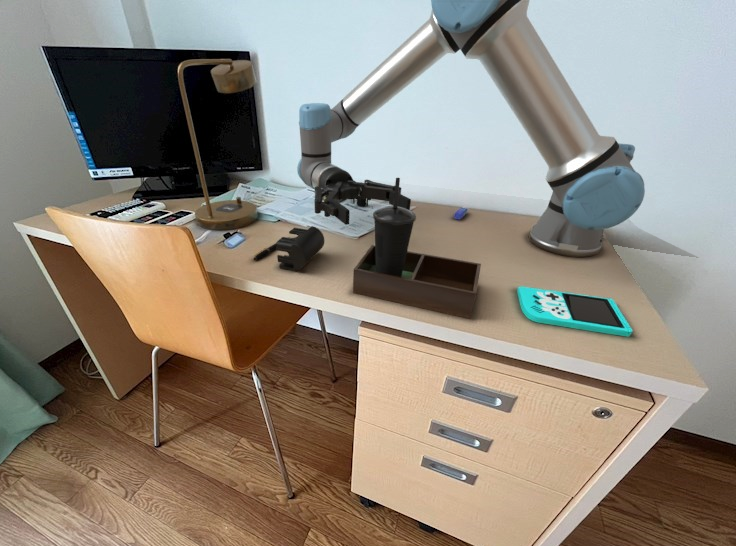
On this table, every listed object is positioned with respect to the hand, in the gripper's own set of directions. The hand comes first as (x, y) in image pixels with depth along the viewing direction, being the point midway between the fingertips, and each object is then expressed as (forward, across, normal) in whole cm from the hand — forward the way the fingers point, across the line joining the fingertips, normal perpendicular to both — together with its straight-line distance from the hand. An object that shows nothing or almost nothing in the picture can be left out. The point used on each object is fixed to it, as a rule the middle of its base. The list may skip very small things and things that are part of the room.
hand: (379, 211), depth 66 cm
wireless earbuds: (-38, -18, -14) cm, 44 cm away
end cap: (-12, +12, -14) cm, 22 cm away
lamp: (-49, +19, -14) cm, 54 cm away
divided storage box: (+9, -4, -13) cm, 17 cm away
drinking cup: (+5, 0, -13) cm, 14 cm away
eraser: (-17, -39, -14) cm, 45 cm away
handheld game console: (+27, -24, -14) cm, 39 cm away
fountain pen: (-20, +16, -14) cm, 30 cm away
